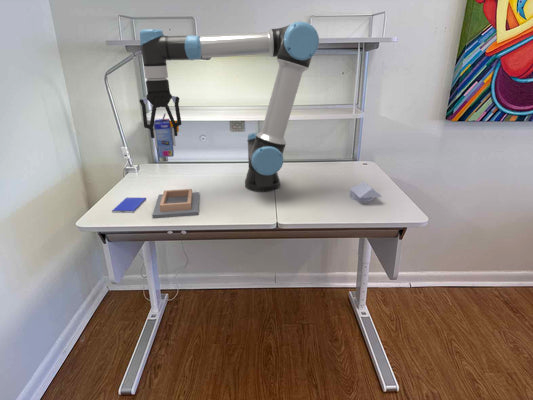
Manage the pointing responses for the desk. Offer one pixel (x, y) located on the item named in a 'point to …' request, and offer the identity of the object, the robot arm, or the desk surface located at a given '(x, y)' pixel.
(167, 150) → the ink cartridge box
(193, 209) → the grey holder tray
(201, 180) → the desk surface
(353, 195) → the pale grey faceted rock
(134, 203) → the hard drive
